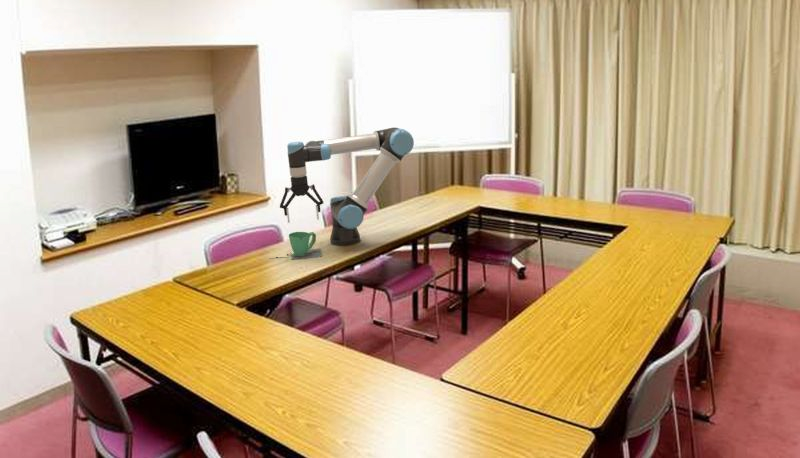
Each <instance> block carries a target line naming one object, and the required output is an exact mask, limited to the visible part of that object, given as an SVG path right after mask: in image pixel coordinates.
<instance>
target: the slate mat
mask: <svg viewBox="0 0 800 458" xmlns="http://www.w3.org/2000/svg"><path fill="white" fill-rule="evenodd" d="M290 255H291V261H293V260H304V259H305V260H306V259H314V258H322V257H323V255H322V251H321V248H311V249H310V250H308V251H307V252H306V254H305V256H301V257H298V256H295V254H294V253H293V254H290Z"/></svg>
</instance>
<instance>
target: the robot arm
mask: <svg viewBox="0 0 800 458" xmlns="http://www.w3.org/2000/svg"><path fill="white" fill-rule="evenodd" d="M414 141H415V140H414V137H413V136H412V134H411V132H409V131H408V130H406V129H403V128H398V127H391V128H385V129H381V130H374V131H373V133H369V134H368V133H367V134H366V133H365V134H360V135H353V136H345V137H337V138H330V139H329V138H328V139H324V140H311V141H308V142H306V144H305V145H304V142H303V141H293V142H289V143H288V144H287V157H288V158H287V159H288V166H289V176H290V183H291V187H287V186H285V187H284V193H283V196H282V198H281V202H280V203H279V208H280V209H283V212H284V216H285V217H287V223H288V224H289V223H290V222H291V221H290V213H289V208H288V207H289V205H290V204H291V202H292V201H293V199H295V197H301V196H305V195H306V196H307V197H308V198H309V199H311V201H312V202H313V203H314V204H315V211H316V220H318V221H319V220H320V218H319V217H320V216H319V213H321V206H322V205H323V204H324V200H323V198H322V197H321V195H320V193H319V192H318V191H317V189H316V185H315V184H310V185H309V183H308V176H307V163H309V162H310V163H311V162H319V161H328V160H330V159H331V157H332V155H333V156H334V155H341V154H348V153H355V152H362V151H369V150H376V151H380V153H379V154H378V156H377V158H376V159H375V160H374V161H373V163H372V165H371V166H370V167H369V169H368V171H367V172H366V173H365V174H364V176H363V178H362V179H361V181H360V182H359V183H358V185H357V187H356V188H355V189H354V191H353V193H351V194H347V195H342V196H334V197H331V198H330V201H329V202H330V204H329V206H330V211H331V223H332V229H331V233H330V237H329V243H330V244H331V245H334V246H350V245H355V244H357V243H360V241H361V234H360V232H359V230H358V227H359V226H360V225H362V223H363V221H364V215H365V214H366V212H367V210H368V209H369V208H368V204H369V202H370V201H371V199H372V197H373V196H374V195H375V193H376V192H377V190H378V189H379V187H381V185H382V183H383V182H384V180H385V179H386V177H387V176H388V174H389V173H390V172H391V170H392V169H393V167H394V166H395V165H396V164H397V163H400V162H401V161H402V160H403V158H404V157H405V156H406V155H408V154H409V153H411V151H412V150H413V148H414V143H415V142H414ZM309 190H311V191H313V193H314V194H315V196H316V197H317V199H316V198H315V197H314V196H313V195H312V194H311V193H310V192H309ZM290 191H291V193H292V194H291V196H290V197H289V198H288V200H287V201H286V198H287V196H288V193H290ZM285 201H286V202H285ZM290 224H291V223H290Z"/></svg>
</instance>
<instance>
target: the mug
mask: <svg viewBox="0 0 800 458" xmlns="http://www.w3.org/2000/svg"><path fill="white" fill-rule="evenodd" d="M311 236H312V237H311ZM316 237H317V235H316V233H315V232H314V231H311V232H306V231H294V232H291V233H288V238H289V239H288V240H289V241H290V247H291V250H292V251H293V252H294V254H295V256H298V257H301V256H305V254H306V252H307V251H308V250H311V249H313V246H314V244H315V242H316V241H317V240H316ZM310 239H311V240H310Z"/></svg>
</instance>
